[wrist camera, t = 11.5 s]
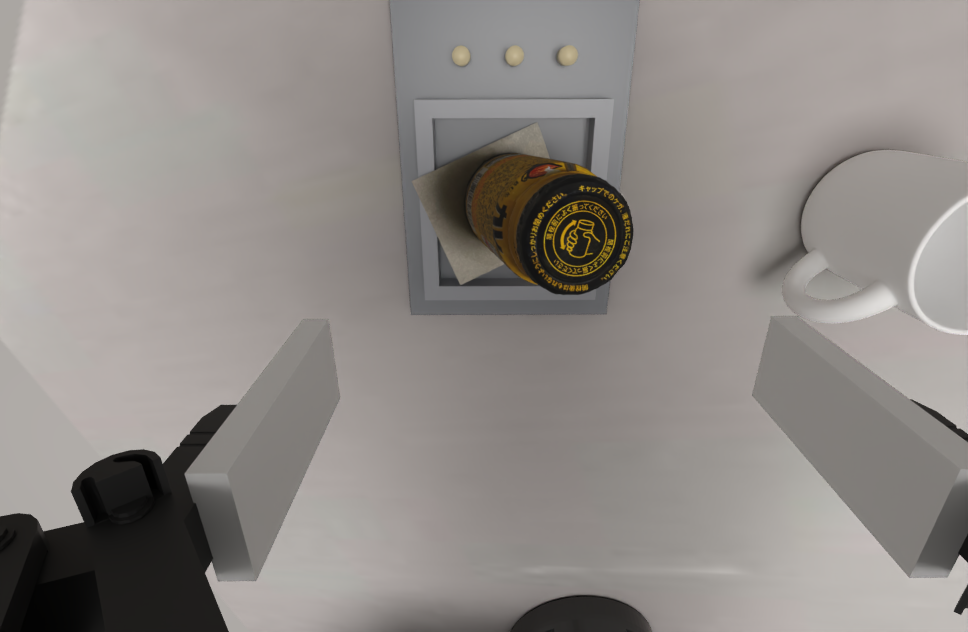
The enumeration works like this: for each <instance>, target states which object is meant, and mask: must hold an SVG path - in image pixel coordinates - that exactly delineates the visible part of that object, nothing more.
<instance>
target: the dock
mask: <svg viewBox="0 0 968 632" xmlns="http://www.w3.org/2000/svg"><path fill="white" fill-rule="evenodd" d="M639 1H640V0H390V14H391V28H392V43H393V58H394V72H395V87H396V102H397V116H398V131H399V146H400V160H401V175H402V189H403V204H404V219H405V233H406V248H407V263H408V277H409V292H410V307H411V315H508V314H607V305H608V295H609V286H610V281H609V282H607V283H606V284H604V285H602V286H600V287H599V288H597V289H594V290H592V291H590V292H588V293H585V294H581V295H561V294H553V293H551V292H549V291H548V290H546V289H544V288H542V287H541V286H539V285H536V284H533V283H530V282H527V281H525V280H524V279H522V278H520V277H518V276H517V275H515V274H514V273H513V272H512V271H511V270H510V269H509V268H508V267H507V266H506V265H505V264H504V265H502V266H499V267H497V268H495V269H493V270H491V271H489V272H487V273H485V274H482V275H480V276H478V277H476V278H475V279H473V280H470V281H468V282H466V283H464V284H462V285H460V283H459V281H458V279H457V277H456V275H455V273H454V271H453V268H452V266H451V264H450V262H449V260H448V258H447V256H446V253H445V251H444V249H443V247H442V245H441V243H440V241H439V239H438V237H437V234H436V232H435V230H434V228H433V226H432V224H431V222H430V220H429V217H428V215H427V213H426V211H425V209H424V207H423V205H422V203H421V200H420V198H419V196H418V194H417V192H416V190H415V188H414V186H413V183H412V181H413V180H415V179H418V178H420V177H422V176H424V175H426V174H428V173H430V172H432V171H434V170H436V169H439V168H440V167H443V166H445V165H447V164H449V163H451V162H453V161H456V160H458V159H460V158H462V157H464V156H466V155H468V154H470V153H472V152H475V151H477V150H479V149H481V148H483V147H485V146H487V145H489V144H491V143H494V142H496V141H498V140H500V139H502V138H505V137H507V136H509V135H511V134H513V133H515V132H517V131H519V130H521V129H524V128H526V127H528V126H530V125H532V124H534V123H538V125H539V128H540V131H541V134H542V136H543V139H544V142H545V145H546V148H547V151H548V154H549V157H550V159H554V160H560V161H565V162H571V163H574V164H578V165H580V166H582V167H584V168H587V169H588V170H589V171H590V172H592V173H593V174H595V175H596V176H597V177H600V178H601V179H603V180H606V181H607V182H608V183H609V184H610V185H611V186H613V187H615V188H616V189H617V191H618V192H619V191H620V181H621V172H622V163H623V153H624V144H625V134H626V125H627V115H628V106H629V96H630V87H631V77H632V68H633V58H634V49H635V39H636V30H637V20H638V11H639Z"/></svg>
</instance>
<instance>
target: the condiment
mask: <svg viewBox="0 0 968 632" xmlns="http://www.w3.org/2000/svg"><path fill="white" fill-rule="evenodd" d="M412 183H413V186H414V188H415V190H416V192H417V194H418V196H419V198H420V200H421V203H422V205H423V207H424V209H425V211H426V213H427V215H428V217H429V220H430V222H431V224H432V226H433V228H434V230H435V232H436V234H437V237H438V239H439V241H440V243H441V245H442V247H443V249H444V251H445V253H446V256H447V258H448V260H449V262H450V264H451V266H452V268H453V271H454V273H455V275H456V277H457V279H458V281H459V283H460V285H462V284H464V283H466V282H468V281H470V280H473V279H475V278H476V277H478V276H480V275H482V274H485V273H487V272H489V271H491V270H493V269H495V268H497V267H499V266H502V265H504V264H505V265H506V266H507V267H508V268H509V269H510V270H511V271H512V272H513V273H514V274H515V275H517V276H518V277H520V278H522V279H524V280H525V281H527V282H530V283H533V284H536V285H539V286H541V287H542V288H544V289H546V290H548V291H549V292H551V293H553V294H561V295H581V294H585V293H588V292H590V291H592V290H594V289H597V288H599V287H600V286H602V285H604V284H606V283H607V282H609V281H610V280H611V279H612V278H613V277H614V275H615V274H616V273H617V271H618V270H619V269H620V268H621V267H622V266H623V265H624V264H625V262H626V260H627V258H628V255H629V252H630V249H631V244H632V239H633V224H632V217H631V214H630V209H629V206H628V204H627V202H626V201H625V199H624V198H623V196H622V195H621V194H620V193H619V192H618V191H617V189H616V188H615V187H613V186H611V185H610V184H609V183H608V182H607V181H606V180H603V179H601V178H600V177H597V176H596V175H595V174H593V173H592V172H590V171H589V170H588V169H587V168H584V167H582V166H580V165H578V164H574V163H571V162H565V161H560V160H554V159H550V157H549V154H548V151H547V148H546V145H545V142H544V139H543V136H542V134H541V131H540V128H539V125H538V123H534V124H532V125H530V126H528V127H526V128H524V129H521V130H519V131H517V132H515V133H513V134H511V135H509V136H507V137H505V138H502V139H500V140H498V141H496V142H494V143H491V144H489V145H487V146H485V147H483V148H481V149H479V150H477V151H475V152H472V153H470V154H468V155H466V156H464V157H462V158H460V159H458V160H456V161H453V162H451V163H449V164H447V165H445V166H443V167H440V168H439V169H436V170H434V171H432V172H430V173H428V174H426V175H424V176H422V177H420V178H418V179H415V180H413V181H412Z"/></svg>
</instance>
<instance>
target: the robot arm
mask: <svg viewBox="0 0 968 632" xmlns="http://www.w3.org/2000/svg"><path fill="white" fill-rule="evenodd" d="M752 396H753V397H754V398H755V399H756V400H757V402H758V403H759V404H760V405H761V406H762V407H763V409H764V410H765V411H766V412H767V413H768V414H769V416H770V417H771V418H772V419H773V420H774V421H775V422H776V424H777V425H778V426H779V427H780V428H781V429H782V431H783V432H784V433H785V434H786V435H787V436H788V438H789V439H790V440H791V441H792V442H793V443H794V445H795V446H796V447H797V448H798V449H799V450H800V451H801V453H802V454H803V455H804V456H805V457H806V458H807V460H808V461H809V462H810V463H811V464H812V465H813V467H814V468H815V469H816V470H817V471H818V472H819V474H820V475H821V476H822V477H823V478H824V479H825V480H826V482H827V483H828V484H829V485H830V486H831V487H832V489H833V490H834V491H835V492H836V493H837V494H838V496H839V497H840V498H841V499H842V500H843V501H844V502H845V504H846V505H847V506H848V507H849V508H850V509H851V511H852V512H853V513H854V514H855V515H856V516H857V518H858V519H859V520H860V521H861V522H862V523H863V525H864V526H865V527H866V528H867V529H868V530H869V531H870V533H871V534H872V535H873V536H874V537H875V538H876V540H877V541H878V542H879V543H880V544H881V545H882V547H883V548H884V549H885V550H886V551H887V552H888V554H889V555H890V556H891V557H892V558H893V559H894V560H895V562H896V563H897V564H898V565H899V566H900V567H901V569H902V570H903V571H904V572H905V573H906V574H907V576H908V577H909V578H943V577H948V576H949V574H950V572H951V570H952V568H953V566H954V564H955V562H956V560H957V558H958V556H959V554H960V555H961V556H962V557H963V558H964V559H965V560H966V561H967V562H968V434H967V433H966V432H964V431H963V430H961V429H957V428H956V425H955V424H953V423H952V422H950V421H949V420H948V419H946V418H945V417H944V416H942V415H941V414H939V413H938V412H937V411H934V410H932V409H930V408H928V407H926V406H924V405H922V404H920V403H918V402H916V401H914V400H912V399H908V398H907V397H906V396H904V395H903V394H902V393H900V392H899V391H898V390H896V389H895V388H894V387H892V386H891V385H890V384H888V383H887V382H885V381H884V380H883V379H881V378H880V377H879V376H877V375H876V374H875V373H873V372H872V371H871V370H869V369H868V368H867V367H865V366H864V365H862V364H861V363H860V362H858V361H857V360H856V359H854V358H853V357H852V356H850V355H849V354H848V353H846V352H845V351H844V350H842V349H841V348H840V347H838V346H837V345H835V344H834V343H833V342H831V341H830V340H829V339H827V338H826V337H825V336H823V335H822V334H821V333H819V332H818V331H817V330H815V329H814V328H812V327H811V326H810V325H808V324H807V323H806V322H804V321H803V320H802V319H800V318H799V317H798V316H771V320H770V324H769V328H768V332H767V336H766V340H765V344H764V348H763V352H762V357H761V361H760V365H759V369H758V373H757V377H756V381H755V385H754V389H753V393H752ZM339 399H340V394H339V387H338V380H337V373H336V366H335V359H334V352H333V345H332V338H331V331H330V324H329V319H303V320H302V321H301V323H300V324H299V325H298V327H297V328H296V329H295V330H294V332H293V333H292V334H291V336H290V337H289V338H288V340H287V341H286V342H285V344H284V345H283V346H282V347H281V349H280V350H279V351H278V353H277V354H276V355H275V357H274V358H273V359H272V360H271V362H270V363H269V364H268V366H267V367H266V368H265V370H264V371H263V372H262V373H261V375H260V376H259V377H258V379H257V380H256V381H255V383H254V384H253V385H252V386H251V388H250V389H249V390H248V392H247V393H246V394H245V396H244V397H243V398H242V399H241V401H240V402H239V403H238V405H220V406H219V407H217V408H216V409H214V410H213V411H211V412H210V413H208V414H207V415H205V416H204V417H202V418H201V419H200V421H199V422H198V423H197V424H196V425H195V427H194V428H193V429H192V430H191V431H190V435H187V436H186V437H185V438H184V440H183V441H182V442H181V443H180V447H177V448H176V449H175V450H174V451H173V453H172V454H171V455H170V456H169V457H168V458H167V460H166V461H165V462H164V463H163V464H162V461H161V458H160V457H159V456H158V455H157V454H156V453H155V452H153V451H148V450H144V449H143V450H130V451H125V452H122V453H118V454H114V455H111V456H109V457H107V458H105V459H102V460H100V461H98V462H96V463H94V464H93V465H92V466H90V467H89V468H87V469H86V470H84V471H83V472H82V473H81V474H80V475H79V476H78V477H77V479H76V480H75V481H74V482H73V486H72V490H71V493H72V495H73V497H74V500H75V502H76V504H77V506H78V509H79V511H80V513H81V516H82V517H83V520H84V522H83V523H79V524H74V525H70V526H66V527H62V528H57V529H53V530H48V531H44V532H43V530H42V528H41V526H40V524H39V522H38V520H37V519H36V518H34V517H33V516H32V515H29V514H20V513H18V514H11V515H6V516H1V517H0V632H229V631H228V629H227V626H226V624H225V621H224V619H223V617H222V614H221V612H220V609H219V607H218V604H217V602H216V599H215V597H214V594H213V592H212V590H211V587H210V585H209V582H208V580H207V577H206V575H205V572H206V570H207V568H208V566H209V565H210V563H211V561H212V563H213V567H214V570H215V573H216V576H217V579H218V581H256V580H257V578H258V576H259V574H260V571H261V569H262V567H263V565H264V563H265V561H266V558H267V556H268V554H269V552H270V550H271V547H272V545H273V543H274V541H275V539H276V537H277V534H278V532H279V530H280V528H281V526H282V523H283V521H284V519H285V517H286V515H287V513H288V510H289V508H290V506H291V504H292V502H293V499H294V497H295V495H296V493H297V491H298V489H299V486H300V484H301V482H302V480H303V478H304V475H305V473H306V471H307V469H308V467H309V465H310V462H311V460H312V458H313V456H314V454H315V451H316V449H317V447H318V445H319V443H320V441H321V438H322V436H323V434H324V432H325V430H326V427H327V425H328V423H329V421H330V419H331V417H332V414H333V412H334V410H335V408H336V406H337V403H338V401H339ZM965 608H968V585H967V587H966V589H965V590H964V592H963V594H962V596H961V598H960V600H959V601H958V603H957V605H956V607H955V610H954V612H956V613H958V614H960V615H961V614H962V612H963V610H964V609H965ZM511 632H652V630H651V627H650V625H649V624H648V622H647V621H646V619H645V618H644V617H643V616H642V615H641V614H640V613H638V612H637V611H636V610H634V609H633V608H631V607H629V606H627V605H625V604H623V603H620V602H617V601H614V600H610V599H606V598H599V597H572V598H565V599H560V600H556V601H553V602H550V603H547V604H544V605H542V606H540V607H538V608H536V609H534V610H532V611H530V612H529V613H527V614H526V615H525V616H523V617H522V618H521V619H520V620H519V621H518V622H517V623H516V624H515V626H514V627H513V629H512V630H511Z"/></svg>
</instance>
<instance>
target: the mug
mask: <svg viewBox="0 0 968 632" xmlns="http://www.w3.org/2000/svg"><path fill="white" fill-rule="evenodd" d="M801 234H802V239H803V243H804V246H805V248H806V250H807V252H808V254H807V255H805V256H804V257H803V258H801V259H800V260H799V261H798V262H797V263H796V264H795V265H794V266H793V267H792V268H791V269H790V270H789V272H788V273H787V275H786V277H785V278H784V282H783V285H782V295H783V299H784V301H785V303H786V305H787V306H788V307H789V308H790V309H791V310H792V311H793V312H794V313H795V314H797V315H799V316H800V317H803V318H805V319H808V320H811V321H816V322H820V323H845V322H852V321H856V320H860V319H864V318H867V317H870V316H873V315H876V314H878V313H881V312H883V311H885V310H887V309H890V308H892V307H896V308H898V309H899V310H901V311H903V312H905V313H907V314H908V315H910V316H912V317H914V318H916V319H918V320H920V321H921V322H923V323H925V324H926V325H928V326H930V327H932V328H934V329H936V330H939V331H942V332H945V333H950V334H958V335H968V162H967V161H961V160H955V159H949V158H943V157H937V156H931V155H925V154H919V153H913V152H908V151H899V150H877V151H871V152H866V153H863V154H860V155H857V156H855V157H852V158H850V159H848V160H846V161H844V162H843V163H841V164H839V165H838V166H837V167H835V168H834V169H832V170H831V171H830V172H829V173H828V174H827V175H826V176H824V178H823V179H822V180H821V181H820V182H819V183H818V184H817V186H816V187H815V188H814V190H813V191H812V193H811V195H810V196H809V198H808V200H807V203H806V205H805V208H804V211H803V214H802V220H801ZM825 269H827V270H829V271H831V272H832V273H834V274H836V275H838V276H840V277H841V278H843V279H845V280H847V281H849V282H851V283H852V284H854V285H856V286H858V287H859V288H861V289H863V290H861V291H859V292H857V293H855V294H852V295H850V296H847V297H843V298H839V299H833V300H820V299H815V298H813V297H811V296H809V295H808V294H807V293H806V291H805V287H806V285H807V284H808V282H809V281H810V280H811V279H812V278H813V277H814V276H816V275H817V274H818V273H820V272H821V271H823V270H825Z"/></svg>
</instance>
